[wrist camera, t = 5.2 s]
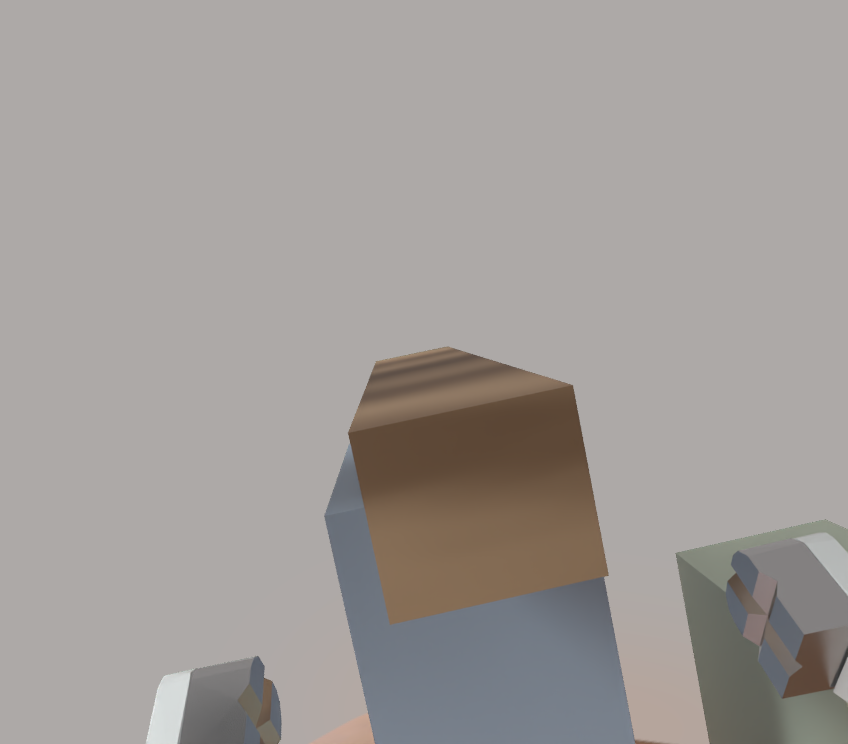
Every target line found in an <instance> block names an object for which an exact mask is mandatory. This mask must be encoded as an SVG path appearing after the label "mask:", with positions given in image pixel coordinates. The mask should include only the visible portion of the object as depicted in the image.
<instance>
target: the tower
mask: <svg viewBox="0 0 848 744" xmlns="http://www.w3.org/2000/svg"><path fill="white" fill-rule="evenodd" d="M325 521H326V525H327V530H328V534H329V539H330V543H331V548H332V552H333V557H334V561H335V566H336V570H337V575H338V579H339V583H340V588H341V593H342V597H343V601H344V606H345V611H346V615H347V620H348V624H349V629H350V633H351V638H352V642H353V647H354V651H355V655H356V660H357V664H358V669H359V673H360V678H361V682H362V687H363V691H364V696H365V700H366V705H367V709H368V714H369V718H370V723H371V727H372V732H373V736H374V741H375V744H635V740H634V735H633V729H632V724H631V719H630V713H629V708H628V703H627V697H626V692H625V687H624V681H623V676H622V671H621V666H620V660H619V655H618V650H617V644H616V640H615V634H614V628H613V623H612V618H611V613H610V607H609V602H608V597H607V592H606V586H605V581H604V577H600V578H596V579H591V580H587V581H582V582H578V583H573V584H569V585H565V586H560V587H556V588H551V589H547V590H542V591H538V592H534V593H529V594H525V595H520V596H516V597H511V598H507V599H502V600H498V601H494V602H489V603H485V604H480V605H476V606H471V607H467V608H463V609H458V610H454V611H449V612H445V613H440V614H436V615H432V616H427V617H423V618H418V619H414V620H409V621H405V622H400V623H396V624H392V625H390V623H389V619H388V614H387V609H386V605H385V600H384V596H383V591H382V586H381V582H380V577H379V573H378V568H377V563H376V559H375V554H374V550H373V545H372V540H371V536H370V531H369V527H368V522H367V517H366V513H365V508H364V504H363V499H362V494H361V490H360V485H359V481H358V476H357V472H356V467H355V462H354V458H353V453H352V449H351V444H349V446H348V449H347V452H346V455H345V458H344V461H343V464H342V466H341V469H340V472H339V475H338V478H337V481H336V484H335V487H334V490H333V493H332V496H331V498H330V501H329V504H328V507H327V510H326V513H325Z"/></svg>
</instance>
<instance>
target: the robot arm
mask: <svg viewBox="0 0 848 744" xmlns="http://www.w3.org/2000/svg"><path fill="white" fill-rule="evenodd" d="M731 566H732V567H733V569H734V570H735V572H736V573H735V574H734V575H733V576H732V577H731V578H730V579H729V580H728V581H727V587H726V599H727V603H728V608H729V611H730V613H731V616H732V618H733V620H734V622H735V624H736V626H737V627H738V629H739V631H740V632H741V634H742V636H743V637H745V638H747V639H748V640H750V641H752V642H753V643H755V644H756V645H758V646H759V655H758V661H759V663H760V665H761V666H762V668H763V669H764V671H765V673H766V674H767V676H768V677H769V679H770V680H771V682H772V684H773V685H774V687H775V688H776V690H777V692H778V693H779V695H780V696H781V698H782V699H784V698H789V697H794V696H799V695H804V694H809V693H814V692H819V691H824V690H829V689H834V690H833V692H834V693H835V694H837V695H838V696H839V697H841V698H842V699H843V700H845V701H846V702H847V703H848V553H847V552H846V551H845V549H844V548H843V547H842V546H841V545H840V544H839V543H838V542H837V540H836V539H835V538H834V537H833V536H831V535H829V534H827V533H815V534H811V535H806V536H802V537H798V538H793V539H792V538H790V539H786V540H781V541H777V542H773V543H769V544H764V545H760V546H756V547H752V548H748V549H743V550H739V551H737V552H736V553H735V554H734V555H733V557H732V562H731ZM280 740H281V711H280V701H279V698H278V694H277V690H276V688H275V686H274V684H273V682H272V681H270V680H268V679H265V678H264V665H263V663H262V662H261V660H260V658H259V657H258V656H255V657H251V658H246V659H241V660H237V661H232V662H227V663H222V664H217V665H213V666H208V667H203V668H199V669H198V668H196V669H191V670H187V671H182V672H178V673H174V674H169V675H165V676H164V677H163V679H162V681H161V683H160V684H159V687H158V689H157V694H156V699H155V703H154V708H153V713H152V717H151V722H150V727H149V731H148V736H147V741H146V744H278V743H279V741H280Z"/></svg>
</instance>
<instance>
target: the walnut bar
mask: <svg viewBox="0 0 848 744" xmlns="http://www.w3.org/2000/svg"><path fill="white" fill-rule="evenodd" d="M348 435H349V439H350V444H351V449H352V453H353V458H354V462H355V467H356V472H357V476H358V481H359V485H360V490H361V494H362V499H363V504H364V508H365V513H366V517H367V522H368V527H369V531H370V536H371V540H372V545H373V550H374V554H375V559H376V563H377V568H378V573H379V577H380V582H381V586H382V591H383V596H384V600H385V605H386V609H387V614H388V619H389V623H390V625H392V624H396V623H400V622H405V621H409V620H414V619H418V618H423V617H427V616H432V615H436V614H440V613H445V612H449V611H454V610H458V609H463V608H467V607H471V606H476V605H480V604H485V603H489V602H494V601H498V600H502V599H507V598H511V597H516V596H520V595H525V594H529V593H534V592H538V591H542V590H547V589H551V588H556V587H560V586H565V585H569V584H573V583H578V582H582V581H587V580H591V579H596V578H600V577H605V576H608V569H607V564H606V559H605V554H604V548H603V543H602V538H601V532H600V527H599V522H598V516H597V512H596V506H595V500H594V495H593V490H592V484H591V479H590V474H589V469H588V463H587V458H586V453H585V447H584V442H583V437H582V432H581V426H580V421H579V415H578V410H577V405H576V399H575V394H574V389H573V385H570V384H567V383H564V382H561V381H558V380H554V379H551V378H548V377H545V376H541V375H538V374H535V373H532V372H528V371H525V370H522V369H519V368H515V367H512V366H509V365H506V364H502V363H499V362H496V361H493V360H489V359H486V358H483V357H480V356H476V355H473V354H470V353H466V352H463V351H460V350H457V349H454V348H450V347H443V348H438V349H433V350H428V351H424V352H419V353H414V354H409V355H405V356H400V357H395V358H390V359H385V360H381V361H376V363H375V366H374V368H373V371H372V373H371V376H370V379H369V381H368V384H367V386H366V389H365V391H364V394H363V396H362V399H361V402H360V404H359V406H358V409H357V412H356V414H355V417H354V419H353V422H352V424H351V427H350V429H349V432H348Z"/></svg>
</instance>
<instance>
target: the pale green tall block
mask: <svg viewBox="0 0 848 744" xmlns="http://www.w3.org/2000/svg"><path fill="white" fill-rule="evenodd" d="M815 533H827V534H829V535H831V536H833V537H834V538H835V539H836V540H837V542H838V543H839V544H840V545H841V546H842V547H843V548H844V549H845V551H846V552H847V553H848V529H846V528H844V527H841V526H839V525H837V524H834V523H832V522H830V521H828V520H821V521H816V522H812V523H807V524H803V525H798V526H794V527H789V528H785V529H781V530H776V531H772V532H767V533H763V534H758V535H754V536H749V537H745V538H741V539H736V540H732V541H727V542H723V543H718V544H714V545H710V546H705V547H701V548H696V549H692V550H687V551H683V552H678V553H676V558H677V563H678V569H679V574H680V580H681V585H682V591H683V597H684V602H685V608H686V613H687V619H688V625H689V630H690V636H691V641H692V646H693V653H694V658H695V664H696V669H697V674H698V680H699V686H700V692H701V697H702V703H703V709H704V714H705V720H706V725H707V731H708V736H709V742H710V744H848V703H847V702H846V701H845V700H843V699H842V698H841V697H839V696H838V695H837V694H835V693H834V692H833V690H834V689H829V690H824V691H819V692H814V693H809V694H804V695H799V696H794V697H789V698H784V699H782V698H781V696H780V695H779V693H778V692H777V690H776V688H775V687H774V685H773V684H772V682H771V680H770V679H769V677H768V676H767V674H766V673H765V671H764V669H763V668H762V666H761V665H760V663H759V661H758V655H759V646H758V645H756V644H755V643H753V642H752V641H750V640H748V639H747V638H745V637H743V636H742V634H741V632H740V631H739V629H738V627H737V626H736V624H735V622H734V620H733V618H732V616H731V613H730V611H729V608H728V603H727V599H726V587H727V581H728V580H729V579H730V578H731V577H732V576H733V575H734V574H735V573H736V572H735V570H734V569H733V567H732V566H731V562H732V557H733V555H734V554H735V553H736V552H737V551H739V550H743V549H748V548H752V547H756V546H760V545H764V544H769V543H773V542H777V541H781V540H786V539H790V538H792V539H793V538H798V537H802V536H806V535H811V534H815Z"/></svg>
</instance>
